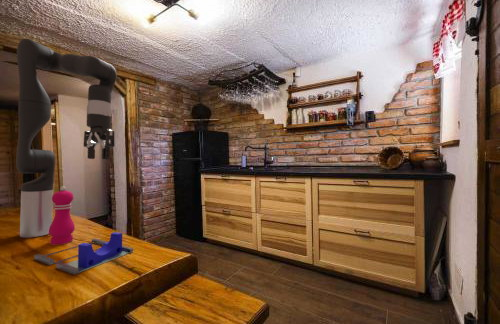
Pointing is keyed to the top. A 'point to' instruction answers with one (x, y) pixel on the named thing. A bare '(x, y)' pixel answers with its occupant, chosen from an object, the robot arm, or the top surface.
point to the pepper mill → (62, 218)
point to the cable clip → (99, 251)
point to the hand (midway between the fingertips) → (98, 159)
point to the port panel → (73, 266)
